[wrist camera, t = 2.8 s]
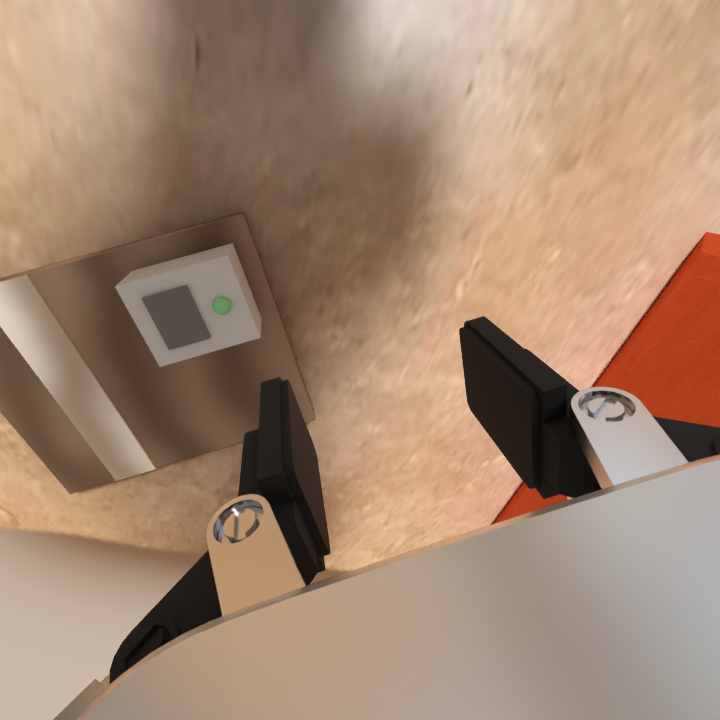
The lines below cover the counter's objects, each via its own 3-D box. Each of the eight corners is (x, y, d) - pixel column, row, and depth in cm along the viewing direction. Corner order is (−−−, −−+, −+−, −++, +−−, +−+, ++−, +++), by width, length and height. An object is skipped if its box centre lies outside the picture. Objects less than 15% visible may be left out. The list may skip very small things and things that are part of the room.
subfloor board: (243, 212, 25) (241, 216, 24) (313, 408, 33) (315, 420, 31) (-70, 297, 24) (-91, 306, 23) (78, 479, 32) (69, 495, 30)
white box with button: (232, 243, 24) (227, 256, 21) (261, 318, 27) (260, 339, 24) (132, 270, 24) (113, 288, 21) (171, 344, 26) (159, 368, 23)
